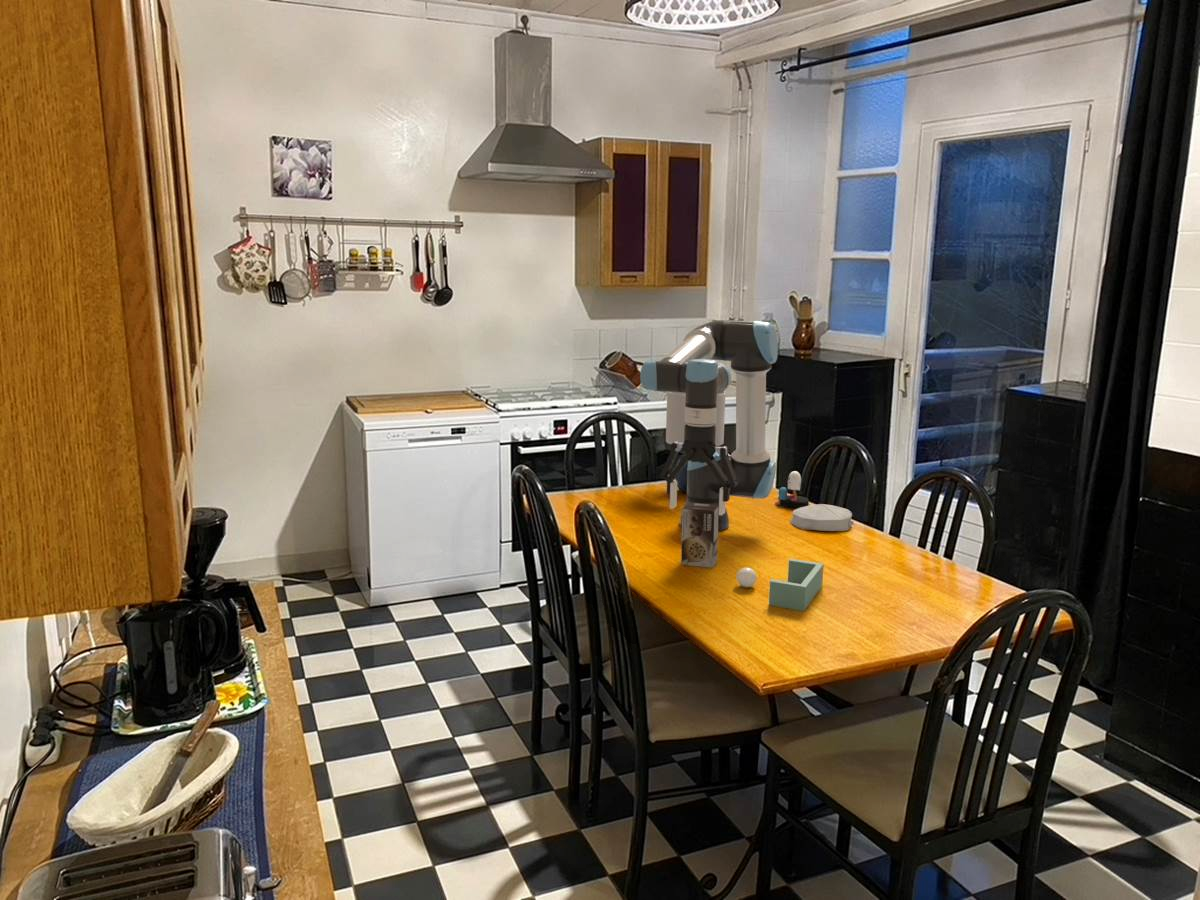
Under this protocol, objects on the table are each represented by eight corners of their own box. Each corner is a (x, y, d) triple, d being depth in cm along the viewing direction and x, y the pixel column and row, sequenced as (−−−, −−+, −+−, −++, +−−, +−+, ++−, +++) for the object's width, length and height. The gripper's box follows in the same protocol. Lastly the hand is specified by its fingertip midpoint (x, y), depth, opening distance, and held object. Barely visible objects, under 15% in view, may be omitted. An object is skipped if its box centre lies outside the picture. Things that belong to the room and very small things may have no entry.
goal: (768, 605, 216) (770, 581, 215) (789, 580, 232) (790, 558, 231) (804, 611, 212) (805, 587, 211) (822, 586, 229) (823, 563, 228)
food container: (843, 538, 272) (845, 516, 270) (780, 526, 282) (782, 505, 280) (862, 523, 288) (864, 503, 287) (802, 512, 299) (803, 493, 297)
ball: (733, 588, 227) (734, 569, 226) (739, 582, 231) (740, 563, 230) (753, 591, 225) (753, 572, 224) (758, 585, 229) (759, 566, 228)
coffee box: (718, 561, 247) (720, 504, 244) (713, 568, 241) (715, 510, 238) (685, 557, 250) (687, 501, 247) (680, 564, 244) (681, 507, 241)
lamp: (661, 497, 314) (664, 392, 307) (667, 483, 334) (669, 385, 326) (720, 500, 311) (724, 394, 303) (722, 486, 331) (726, 387, 323)
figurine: (774, 501, 311) (776, 467, 309) (807, 502, 310) (809, 468, 307) (775, 508, 302) (777, 473, 300) (809, 509, 301) (811, 475, 298)
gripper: (647, 422, 219) (645, 507, 223) (744, 431, 208) (740, 520, 213) (659, 417, 226) (657, 501, 230) (753, 426, 215) (749, 513, 219)
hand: (697, 510), depth 221 cm, fingers open, 12 cm apart
